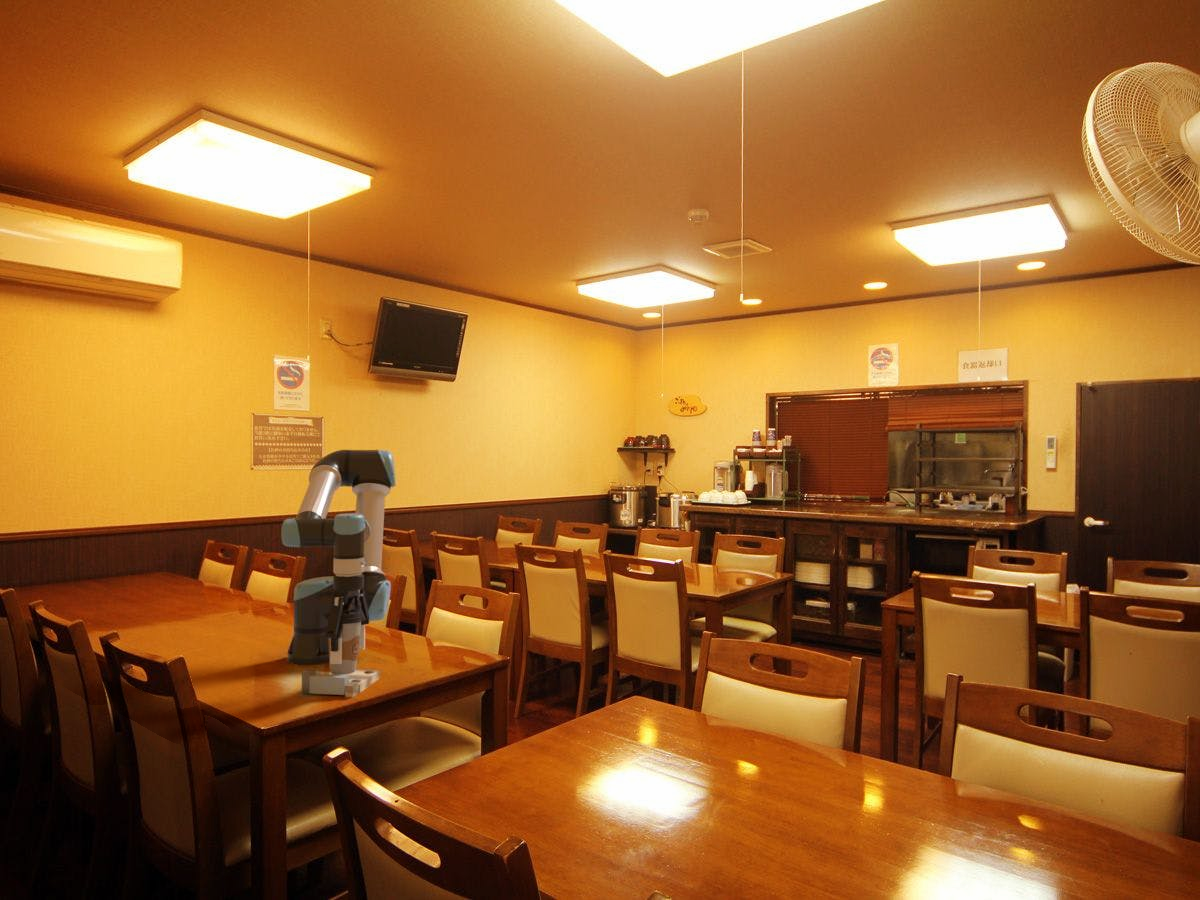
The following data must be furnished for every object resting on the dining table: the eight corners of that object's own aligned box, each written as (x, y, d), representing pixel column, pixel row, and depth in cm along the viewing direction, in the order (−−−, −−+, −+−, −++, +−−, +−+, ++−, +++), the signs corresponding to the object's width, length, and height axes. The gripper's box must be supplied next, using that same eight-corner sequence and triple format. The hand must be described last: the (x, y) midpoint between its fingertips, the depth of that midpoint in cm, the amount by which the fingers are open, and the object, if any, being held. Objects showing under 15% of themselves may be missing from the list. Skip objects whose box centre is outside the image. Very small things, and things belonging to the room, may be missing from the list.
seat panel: (327, 677, 201) (327, 665, 201) (379, 679, 200) (379, 667, 200) (295, 697, 185) (295, 684, 185) (352, 700, 184) (352, 686, 184)
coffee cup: (349, 676, 187) (351, 615, 188) (318, 674, 188) (321, 613, 189) (366, 669, 195) (368, 610, 196) (336, 667, 197) (339, 609, 197)
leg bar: (299, 693, 186) (299, 673, 186) (305, 689, 189) (305, 669, 189) (343, 695, 184) (344, 675, 184) (349, 691, 188) (349, 671, 188)
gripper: (340, 582, 182) (339, 670, 182) (382, 566, 206) (381, 644, 206) (311, 581, 183) (310, 669, 183) (356, 566, 207) (355, 643, 207)
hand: (348, 656), depth 194 cm, fingers open, 13 cm apart
